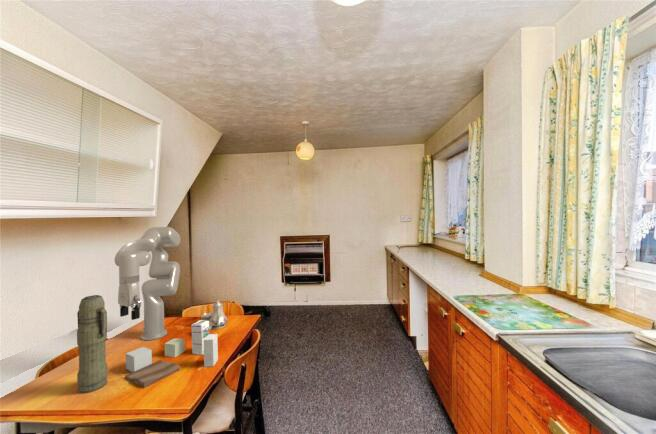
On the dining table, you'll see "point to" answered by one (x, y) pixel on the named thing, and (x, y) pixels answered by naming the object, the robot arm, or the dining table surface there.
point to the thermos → (92, 344)
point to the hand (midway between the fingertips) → (129, 317)
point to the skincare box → (210, 350)
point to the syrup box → (199, 336)
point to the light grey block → (138, 359)
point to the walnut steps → (152, 373)
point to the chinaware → (215, 316)
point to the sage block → (174, 347)
